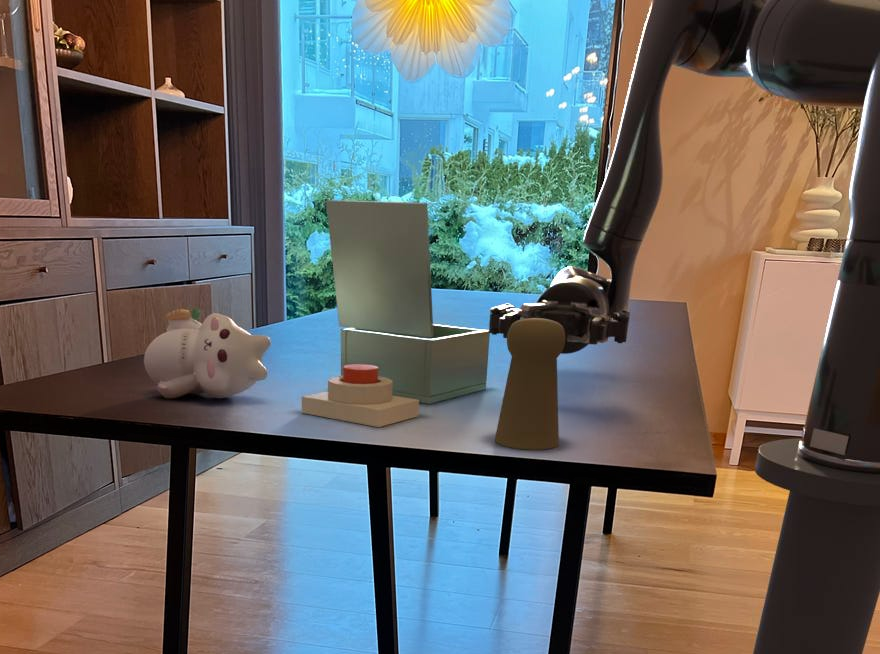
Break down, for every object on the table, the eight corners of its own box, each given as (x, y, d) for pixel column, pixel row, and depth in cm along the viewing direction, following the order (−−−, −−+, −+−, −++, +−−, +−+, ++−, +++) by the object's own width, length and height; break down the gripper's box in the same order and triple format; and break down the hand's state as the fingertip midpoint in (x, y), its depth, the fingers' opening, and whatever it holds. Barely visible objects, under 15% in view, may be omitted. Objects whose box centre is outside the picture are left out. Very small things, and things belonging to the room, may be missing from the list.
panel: (418, 416, 93) (419, 382, 92) (379, 427, 88) (379, 391, 87) (343, 403, 99) (343, 370, 97) (301, 412, 93) (301, 378, 92)
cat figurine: (131, 302, 97) (257, 293, 92) (171, 336, 105) (289, 328, 100) (122, 387, 96) (248, 381, 91) (162, 414, 104) (281, 410, 99)
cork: (566, 439, 86) (579, 318, 81) (549, 452, 81) (562, 324, 76) (506, 431, 88) (515, 313, 83) (485, 444, 83) (494, 319, 78)
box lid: (329, 199, 96) (325, 200, 95) (427, 202, 89) (424, 203, 89) (342, 325, 103) (338, 326, 103) (433, 336, 97) (430, 337, 96)
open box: (401, 376, 115) (403, 320, 112) (486, 389, 109) (490, 330, 106) (340, 389, 106) (340, 329, 103) (429, 404, 99) (432, 340, 97)
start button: (384, 384, 92) (385, 366, 92) (363, 388, 90) (364, 370, 89) (357, 380, 94) (357, 362, 94) (335, 384, 92) (335, 366, 91)
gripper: (512, 276, 102) (481, 285, 88) (639, 282, 98) (629, 293, 84) (506, 344, 105) (476, 364, 91) (630, 353, 102) (618, 375, 88)
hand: (550, 330), depth 88 cm, fingers open, 8 cm apart
